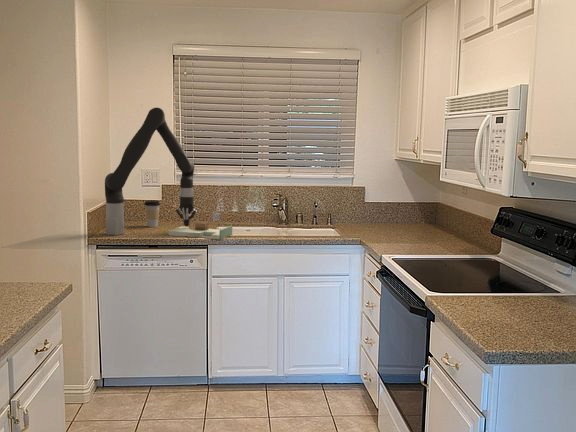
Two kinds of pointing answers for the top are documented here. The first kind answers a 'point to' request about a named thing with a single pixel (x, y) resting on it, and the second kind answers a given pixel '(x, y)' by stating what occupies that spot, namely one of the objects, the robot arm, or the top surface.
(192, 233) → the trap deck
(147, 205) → the coffee cup
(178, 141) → the robot arm
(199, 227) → the walnut block
